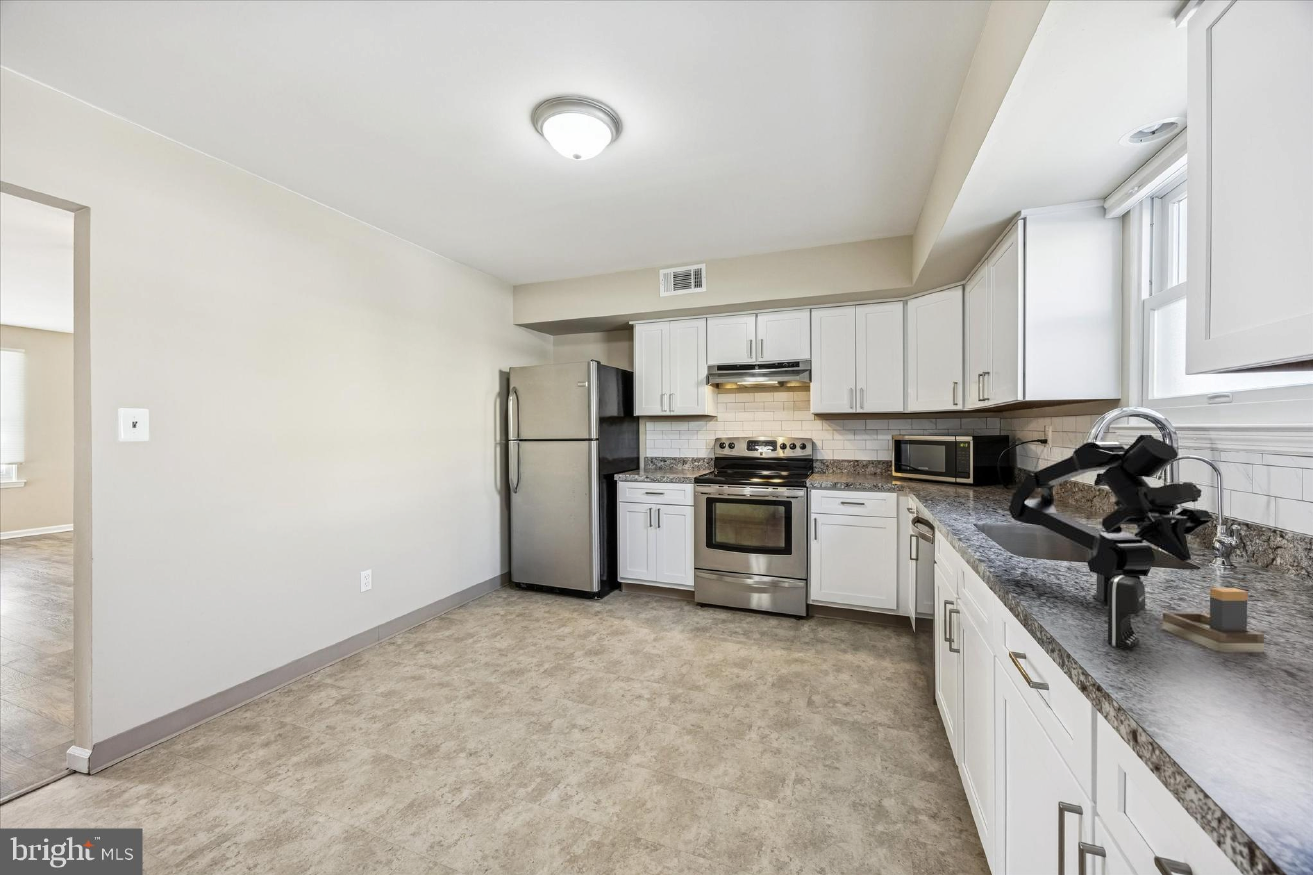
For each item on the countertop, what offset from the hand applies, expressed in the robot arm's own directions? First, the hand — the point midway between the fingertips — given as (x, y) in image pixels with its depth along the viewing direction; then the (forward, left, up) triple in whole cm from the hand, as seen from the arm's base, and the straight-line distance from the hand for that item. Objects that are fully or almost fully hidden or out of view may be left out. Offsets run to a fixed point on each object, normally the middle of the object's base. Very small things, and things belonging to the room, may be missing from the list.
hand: (1187, 560), depth 96 cm
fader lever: (+1, -8, -11) cm, 14 cm away
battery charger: (-14, -11, -13) cm, 22 cm away
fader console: (0, -5, -13) cm, 14 cm away
